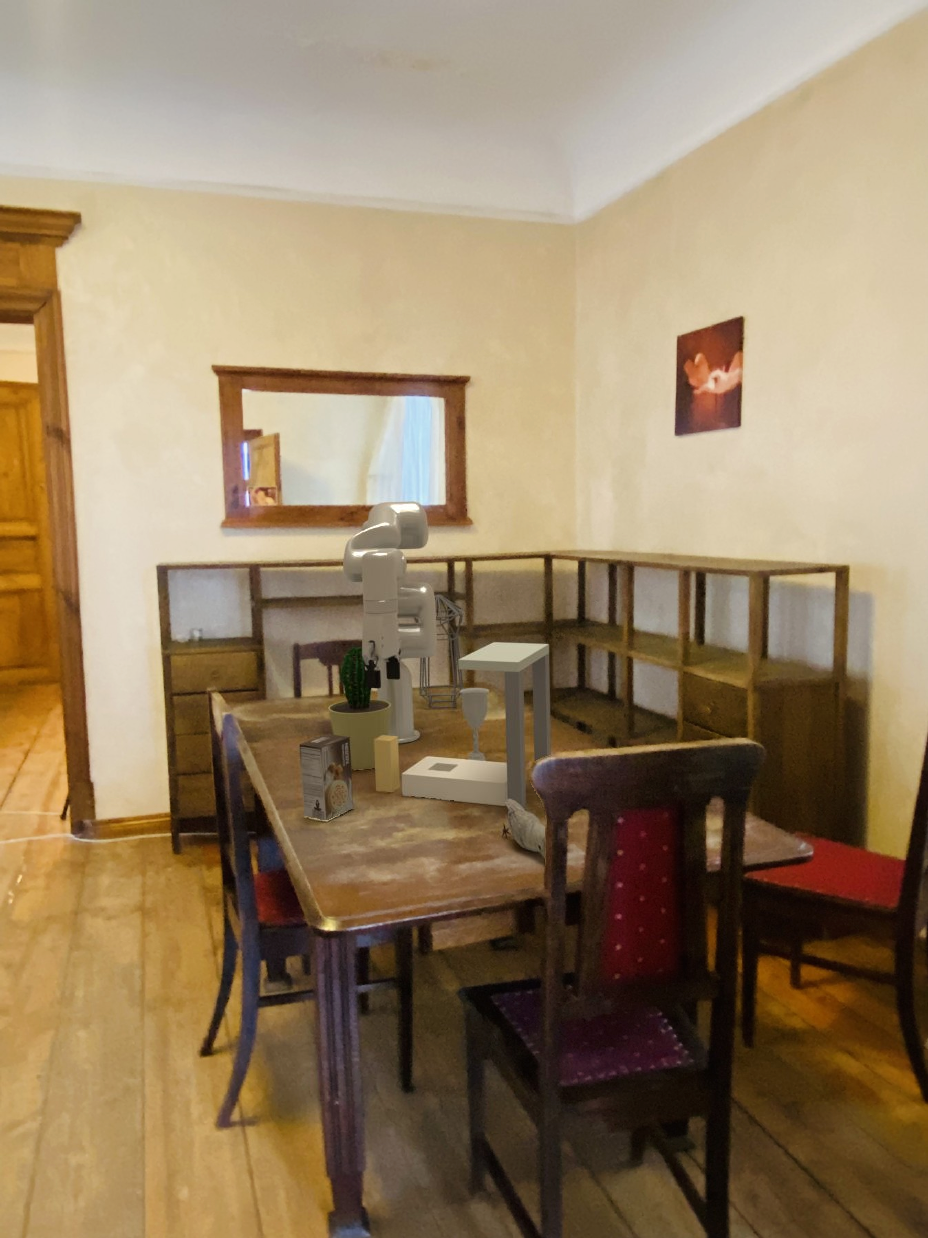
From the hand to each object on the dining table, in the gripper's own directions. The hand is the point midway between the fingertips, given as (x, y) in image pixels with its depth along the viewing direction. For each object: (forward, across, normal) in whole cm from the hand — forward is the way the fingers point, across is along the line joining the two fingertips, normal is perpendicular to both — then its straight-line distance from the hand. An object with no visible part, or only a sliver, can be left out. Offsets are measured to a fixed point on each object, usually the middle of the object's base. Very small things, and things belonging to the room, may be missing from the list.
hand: (384, 683), depth 204 cm
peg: (+24, 0, 0) cm, 25 cm away
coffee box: (+25, +18, -5) cm, 31 cm away
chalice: (+25, -25, +12) cm, 37 cm away
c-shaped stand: (+24, -4, +27) cm, 37 cm away
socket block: (+24, -4, +17) cm, 30 cm away
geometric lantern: (+24, -79, -20) cm, 85 cm away
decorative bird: (+25, +24, +41) cm, 53 cm away
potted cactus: (+25, -16, -15) cm, 33 cm away
